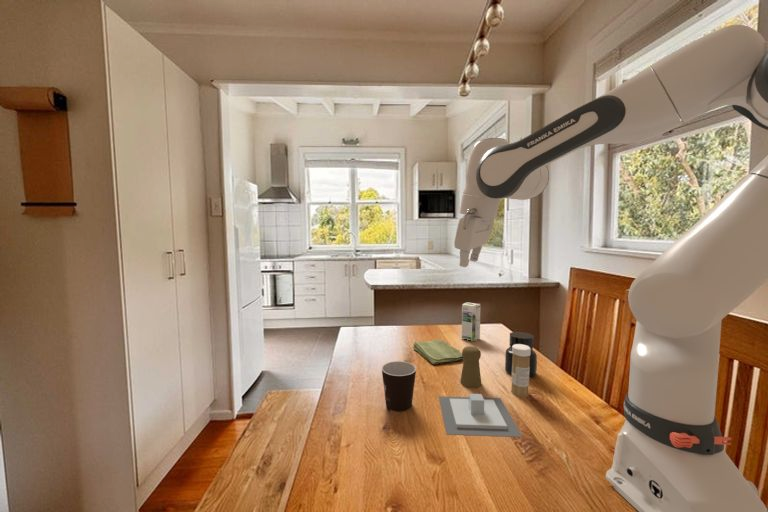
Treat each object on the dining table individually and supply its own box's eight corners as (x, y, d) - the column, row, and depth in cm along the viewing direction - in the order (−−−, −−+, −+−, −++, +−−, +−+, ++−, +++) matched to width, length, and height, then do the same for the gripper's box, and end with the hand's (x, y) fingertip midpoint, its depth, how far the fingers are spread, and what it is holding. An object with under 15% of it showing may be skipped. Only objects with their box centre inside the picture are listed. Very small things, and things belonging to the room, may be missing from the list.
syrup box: (460, 339, 132) (461, 304, 131) (467, 335, 137) (467, 301, 135) (474, 342, 128) (474, 306, 127) (480, 338, 133) (481, 303, 132)
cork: (482, 391, 90) (483, 352, 89) (460, 389, 91) (460, 350, 90) (480, 381, 96) (481, 344, 95) (459, 379, 97) (460, 343, 96)
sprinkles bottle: (511, 389, 90) (512, 342, 89) (529, 392, 89) (530, 344, 88) (510, 397, 86) (511, 348, 85) (529, 400, 84) (530, 350, 83)
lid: (506, 429, 72) (507, 410, 71) (456, 427, 72) (456, 409, 72) (493, 402, 82) (493, 386, 82) (449, 401, 83) (449, 385, 83)
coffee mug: (411, 419, 77) (411, 378, 76) (376, 412, 79) (376, 372, 79) (421, 395, 88) (422, 359, 87) (391, 390, 90) (391, 355, 90)
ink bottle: (542, 374, 100) (544, 336, 99) (528, 382, 95) (530, 342, 94) (512, 364, 108) (513, 328, 107) (498, 371, 102) (499, 334, 101)
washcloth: (432, 367, 106) (432, 358, 106) (411, 349, 123) (411, 340, 123) (467, 362, 110) (467, 353, 110) (441, 344, 127) (442, 336, 127)
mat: (522, 439, 69) (522, 437, 69) (446, 437, 70) (446, 434, 70) (500, 400, 85) (500, 398, 85) (438, 398, 86) (438, 396, 86)
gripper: (481, 210, 69) (470, 273, 72) (499, 210, 87) (490, 260, 89) (453, 206, 72) (443, 267, 75) (476, 207, 89) (467, 255, 92)
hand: (468, 263), depth 82 cm, fingers open, 8 cm apart
